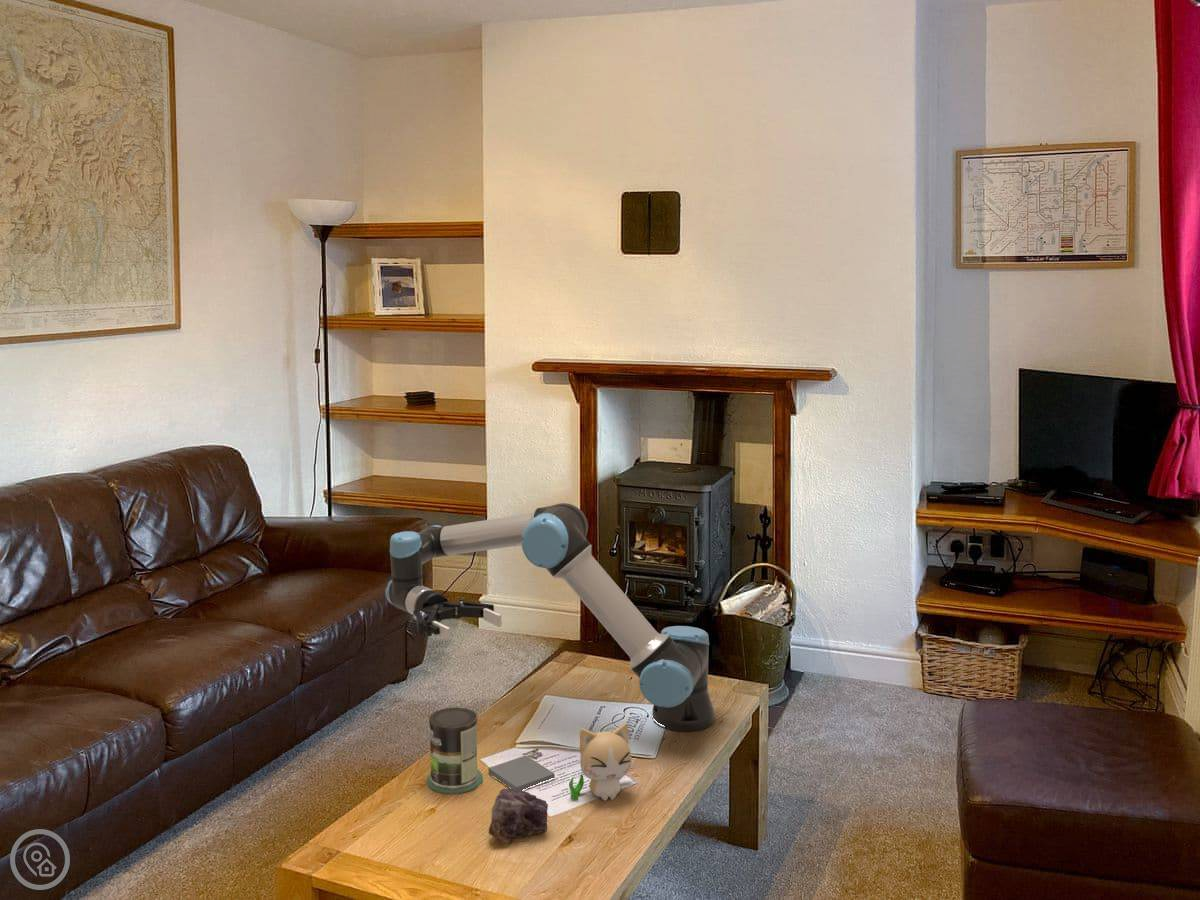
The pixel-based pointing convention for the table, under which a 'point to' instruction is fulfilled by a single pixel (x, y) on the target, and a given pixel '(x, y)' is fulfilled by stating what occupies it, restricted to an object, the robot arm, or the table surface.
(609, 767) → the kitten
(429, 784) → the coaster
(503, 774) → the slate tile
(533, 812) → the rock
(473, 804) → the table surface
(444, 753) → the coffee can
